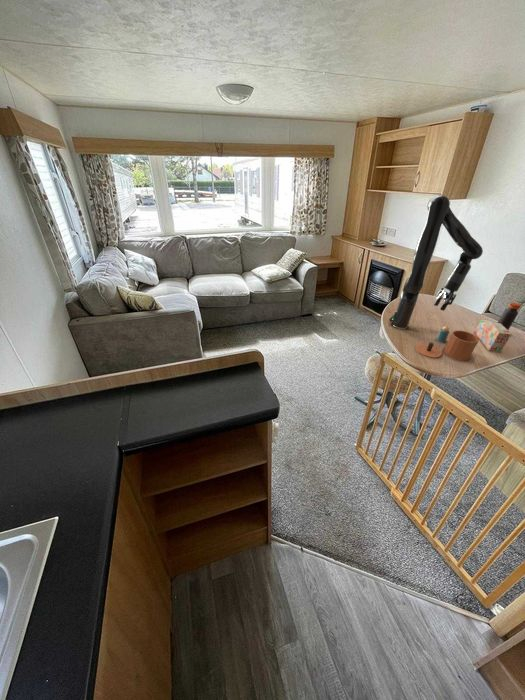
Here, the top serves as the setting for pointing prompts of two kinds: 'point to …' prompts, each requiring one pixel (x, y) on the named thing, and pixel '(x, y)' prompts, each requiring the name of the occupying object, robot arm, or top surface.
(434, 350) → the lid
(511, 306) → the bottle
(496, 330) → the colourful patterned box
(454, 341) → the pot
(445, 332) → the toy doll
